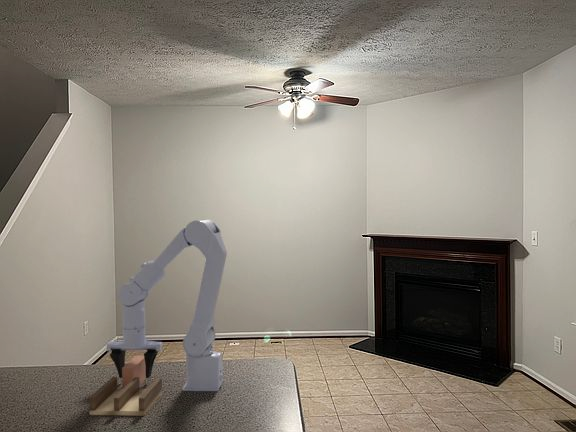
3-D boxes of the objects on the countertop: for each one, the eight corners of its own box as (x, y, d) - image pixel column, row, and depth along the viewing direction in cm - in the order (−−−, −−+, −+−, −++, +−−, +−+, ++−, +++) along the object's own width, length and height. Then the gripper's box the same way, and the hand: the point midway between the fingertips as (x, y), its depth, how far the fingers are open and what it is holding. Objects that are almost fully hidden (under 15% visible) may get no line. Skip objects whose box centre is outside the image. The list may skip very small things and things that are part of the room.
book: (147, 376, 136) (146, 355, 136) (133, 390, 126) (133, 368, 126) (136, 376, 136) (136, 355, 136) (122, 390, 126) (122, 368, 126)
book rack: (162, 393, 124) (161, 377, 124) (144, 415, 111) (143, 398, 111) (113, 392, 125) (112, 377, 124) (89, 414, 112) (89, 397, 112)
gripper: (165, 323, 134) (166, 371, 134) (113, 322, 135) (115, 371, 135) (156, 329, 127) (158, 381, 127) (102, 329, 128) (104, 380, 128)
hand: (135, 376), depth 131 cm, fingers open, 7 cm apart
